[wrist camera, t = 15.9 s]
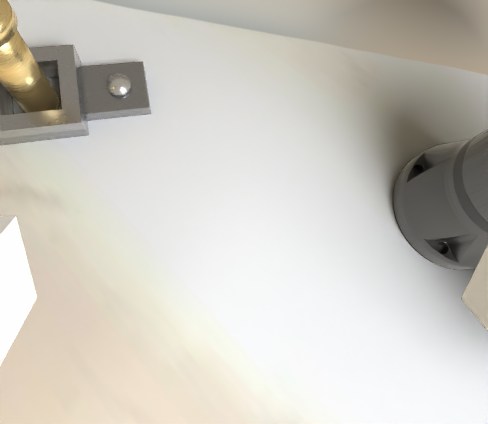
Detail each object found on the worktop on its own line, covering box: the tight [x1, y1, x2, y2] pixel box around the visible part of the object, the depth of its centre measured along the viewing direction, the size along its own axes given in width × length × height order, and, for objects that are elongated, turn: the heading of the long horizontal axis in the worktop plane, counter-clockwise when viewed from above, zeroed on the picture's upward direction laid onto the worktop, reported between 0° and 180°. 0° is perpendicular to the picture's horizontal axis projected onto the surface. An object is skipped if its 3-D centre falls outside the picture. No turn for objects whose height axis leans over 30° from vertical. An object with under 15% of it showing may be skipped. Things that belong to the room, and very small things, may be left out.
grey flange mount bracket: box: [0, 45, 151, 145], centre depth 42 cm, size 24×10×4 cm, turn 101°
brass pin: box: [0, 0, 59, 113], centre depth 37 cm, size 5×5×14 cm
